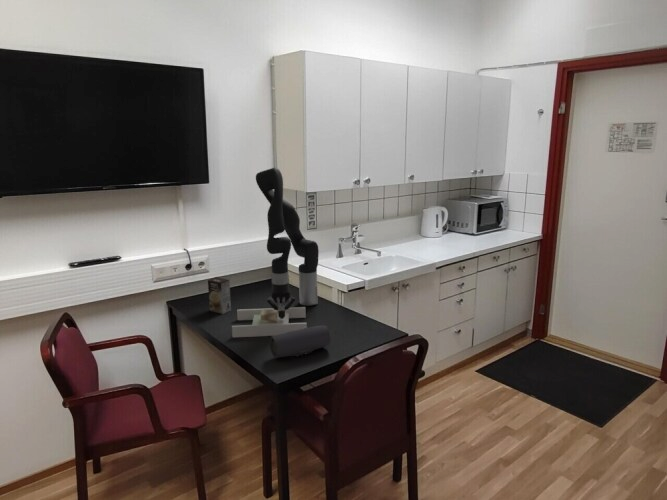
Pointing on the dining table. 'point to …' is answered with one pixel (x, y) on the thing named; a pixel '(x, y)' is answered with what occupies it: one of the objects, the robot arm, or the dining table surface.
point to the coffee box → (219, 295)
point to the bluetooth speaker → (299, 341)
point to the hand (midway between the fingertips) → (281, 317)
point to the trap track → (268, 328)
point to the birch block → (269, 316)
